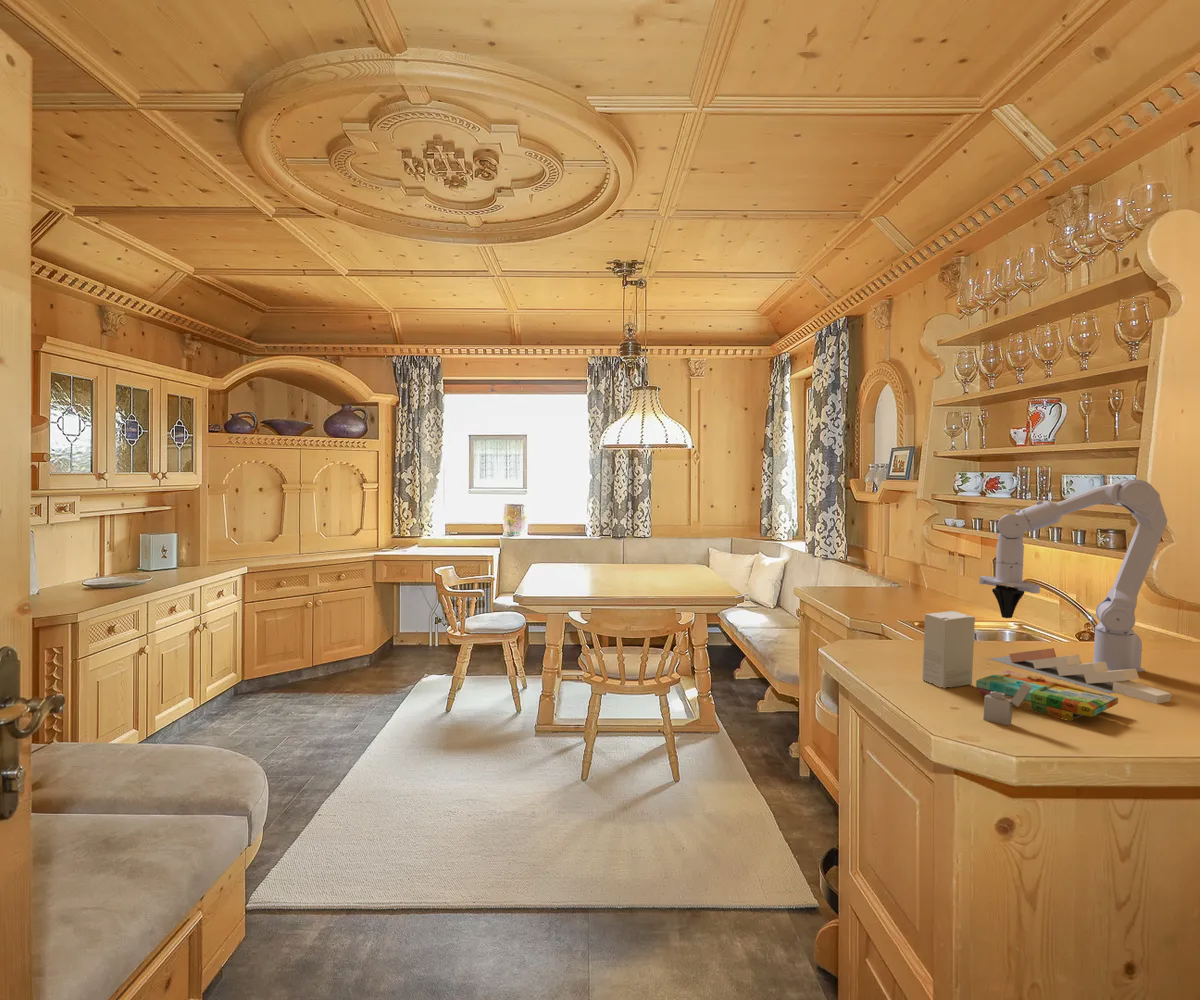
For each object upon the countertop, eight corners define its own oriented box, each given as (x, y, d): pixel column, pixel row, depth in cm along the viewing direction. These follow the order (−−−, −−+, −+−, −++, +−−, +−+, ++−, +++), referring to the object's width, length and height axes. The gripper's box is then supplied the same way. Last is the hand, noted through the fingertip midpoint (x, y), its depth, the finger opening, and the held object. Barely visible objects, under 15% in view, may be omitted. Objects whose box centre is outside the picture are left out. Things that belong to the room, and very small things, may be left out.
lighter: (983, 719, 124) (985, 676, 124) (985, 717, 125) (987, 674, 125) (1028, 730, 119) (1030, 685, 119) (1030, 728, 120) (1032, 683, 120)
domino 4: (1096, 672, 148) (1135, 668, 141) (1099, 681, 147) (1139, 678, 140) (1083, 674, 146) (1122, 670, 139) (1086, 683, 146) (1125, 680, 139)
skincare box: (950, 677, 150) (953, 610, 149) (973, 686, 144) (977, 615, 143) (920, 680, 147) (923, 612, 146) (943, 689, 141) (946, 618, 140)
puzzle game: (1003, 666, 143) (1118, 693, 127) (1002, 688, 143) (1117, 718, 127) (976, 675, 136) (1094, 704, 120) (975, 698, 136) (1092, 731, 120)
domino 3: (1069, 665, 153) (1105, 661, 146) (1072, 674, 153) (1108, 671, 146) (1056, 666, 152) (1092, 663, 145) (1059, 676, 151) (1095, 673, 144)
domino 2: (1044, 658, 158) (1078, 654, 151) (1047, 667, 158) (1081, 663, 151) (1032, 660, 157) (1065, 656, 150) (1034, 669, 156) (1068, 665, 149)
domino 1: (1021, 652, 164) (1053, 648, 157) (1024, 660, 163) (1056, 657, 156) (1009, 653, 162) (1040, 649, 155) (1011, 662, 161) (1043, 658, 154)
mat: (1014, 657, 168) (1014, 655, 168) (1136, 690, 143) (1136, 688, 143) (988, 660, 164) (988, 658, 164) (1108, 695, 139) (1108, 693, 139)
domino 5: (1126, 679, 142) (1170, 693, 135) (1125, 688, 143) (1169, 703, 135) (1113, 681, 141) (1157, 695, 133) (1112, 690, 141) (1156, 705, 134)
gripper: (971, 559, 174) (969, 612, 174) (1026, 567, 160) (1023, 624, 161) (991, 558, 176) (988, 610, 177) (1046, 566, 163) (1044, 622, 164)
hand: (1006, 617), depth 169 cm, fingers closed
